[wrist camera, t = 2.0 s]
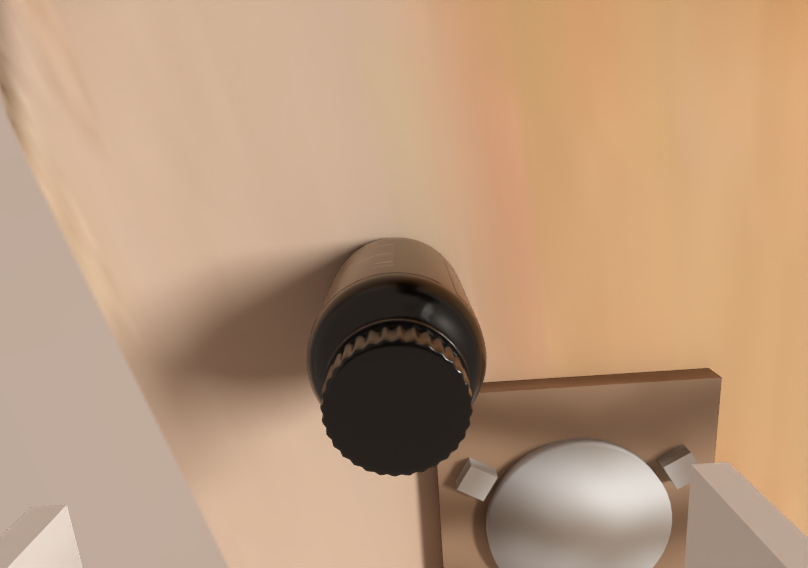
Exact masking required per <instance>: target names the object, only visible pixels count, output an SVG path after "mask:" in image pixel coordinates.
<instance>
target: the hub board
mask: <svg viewBox="0 0 808 568" xmlns="http://www.w3.org/2000/svg"><path fill="white" fill-rule="evenodd" d="M721 379H722V377H720V376H719V375H717V374H716V373H715V372H713V371H712V370H711V369H709V368H705V369H690V370H674V371H659V372H643V373H628V374H612V375H596V376H581V377H565V378H550V379H534V380H519V381H503V382H487V383H483V384H482V387H481V390H480V392H479V394H478V396H477V398H476V400H475V401H474V403H473V405H472V407H473V413H472V415H471V417H470V422H471V425H470V426H469V428H468V429H467V430H466V436H465V438H464V439H463V440H462V441H461V442H460V443H459V447H458V449H457V450H455V451H454V452H452V453H451V454H450V456H449V457H448V459H446V460H443V461H441V462H440V463H439V464H438V465H437V476H438V493H439V509H440V525H441V541H442V557H443V568H684V567H685V552H686V537H687V522H688V507H689V492H690V477H691V464H705V463H714V462H715V450H716V438H717V426H718V415H719V403H720V391H721Z"/></svg>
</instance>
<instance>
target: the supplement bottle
mask: <svg viewBox="0 0 808 568" xmlns="http://www.w3.org/2000/svg"><path fill="white" fill-rule="evenodd" d="M307 370H308V376H309V380H310V384H311V387H312V389H313V392H314V394H315V396H316V398H317V400H318V402H319V403H320V408H321V411H322V413H323V416H322V422H323V424H324V425H325V427H326V434H327V436H328V437H329V438H331V439H332V442H333V446H334V447H335V448H337V449H338V450H340V451H341V454H342V456H343V457H345V458H347V459H350V460H351V462H352V463H353V464H354V465H356V466H361V467H363V469H365V470H366V471H370V472H376V473H377V474H379V475H385V474H389V475H391V476H398V475H401V474H402V475H411V474H413V473H415V472H424V471H425V470H427V469H428V468H431V467H436V466H437V465H438V464H439V463H440V462H441V461H443V460H446V459H448V457H449V456H450V454H451V453H452V452H454V451H455V450H457V449H458V447H459V443H460V442H461V441H462V440H463V439H464V438H465V436H466V430H467V429H468V428H469V426H470V425H471V422H470V417H471V415H472V413H473V407H472V405H473V403H474V401H475V400H476V398H477V396H478V394H479V392H480V390H481V387H482V384H483V380H484V376H485V371H486V347H485V342H484V338H483V334H482V331H481V328H480V325H479V323H478V320H477V318H476V316H475V314H474V311H473V309H472V307H471V305H470V302H469V300H468V298H467V296H466V294H465V291H464V289H463V287H462V285H461V282H460V280H459V278H458V276H457V274H456V273H455V271H454V269H453V268H452V266H451V265H450V263H449V262H448V261H447V260H446V259H445V258H444V257H443V256H442V255H441V254H440V253H439V252H438V251H436V250H435V249H433V248H432V247H430V246H428V245H426V244H424V243H422V242H419V241H416V240H413V239H407V238H385V239H381V240H377V241H374V242H371V243H369V244H367V245H365V246H363V247H361V248H360V249H358V250H357V251H355V252H354V253H353V254H352V255H351V256H350V257H349V258H348V259H347V260H346V261H345V262H344V263H343V265H342V266H341V268H340V269H339V271H338V272H337V274H336V276H335V278H334V280H333V282H332V285H331V287H330V289H329V291H328V294H327V296H326V298H325V300H324V303H323V305H322V307H321V310H320V312H319V314H318V316H317V319H316V321H315V323H314V326H313V329H312V331H311V335H310V339H309V343H308V349H307Z"/></svg>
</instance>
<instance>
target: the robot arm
mask: <svg viewBox="0 0 808 568" xmlns="http://www.w3.org/2000/svg"><path fill="white" fill-rule="evenodd" d="M0 568H83V567H82V563H81V559H80V555H79V551H78V547H77V543H76V539H75V535H74V531H73V527H72V524H71V520H70V516H69V512H68V509H67V505H57V506H42V507H31V508H29V509H28V510H27V511H26V512H25V513H24V514H23V515H22V516H21V517H20V518H19V519H18V520H17V521H16V522H15V523H14V524H13V525H12V526H11V527H10V528H9V529H8V530H7V531H6V532H5V533H4V534H3V535H2V536H0ZM684 568H808V537H807V536H805V535H804V534H803V533H802V532H801V531H800V530H799V529H798V528H797V527H796V526H795V525H794V524H793V523H792V522H791V521H790V520H789V519H788V518H787V517H786V516H784V515H783V514H782V513H781V512H780V511H779V510H778V509H777V508H776V507H775V506H774V505H773V504H772V503H771V502H770V501H769V500H768V499H767V498H766V497H765V496H763V495H762V494H761V493H760V492H759V491H758V490H757V489H756V488H755V487H754V486H753V485H752V484H751V483H750V482H749V481H748V480H747V479H746V478H745V477H744V476H743V475H741V474H740V473H739V472H738V471H737V470H736V469H735V468H734V467H733V466H732V465H731V464H730V463H729V462H720V463H705V464H691V477H690V492H689V507H688V522H687V537H686V552H685V567H684Z"/></svg>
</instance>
